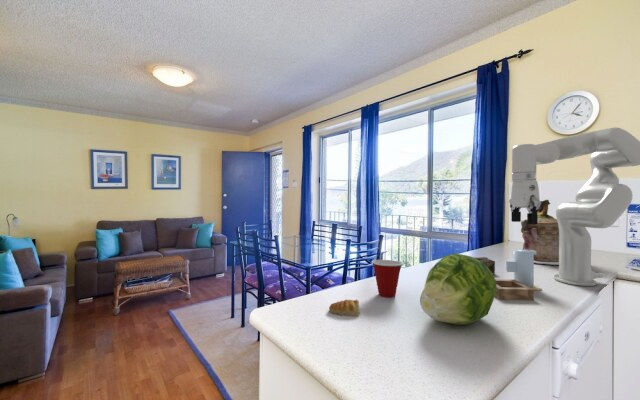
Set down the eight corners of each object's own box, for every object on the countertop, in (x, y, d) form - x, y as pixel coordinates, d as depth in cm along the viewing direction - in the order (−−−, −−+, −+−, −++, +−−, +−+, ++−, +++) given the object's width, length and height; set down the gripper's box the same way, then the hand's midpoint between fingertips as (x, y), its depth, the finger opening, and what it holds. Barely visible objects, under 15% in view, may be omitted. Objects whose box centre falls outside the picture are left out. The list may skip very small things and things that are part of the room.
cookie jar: (568, 258, 153) (568, 198, 153) (579, 268, 132) (579, 199, 132) (512, 253, 166) (512, 198, 166) (514, 262, 146) (515, 199, 145)
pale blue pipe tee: (540, 287, 105) (540, 252, 105) (512, 287, 106) (511, 252, 105) (530, 282, 111) (529, 249, 110) (503, 282, 112) (502, 249, 111)
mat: (528, 283, 112) (528, 281, 112) (542, 290, 104) (542, 288, 104) (506, 283, 112) (506, 281, 112) (518, 289, 104) (518, 288, 104)
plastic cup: (405, 291, 104) (405, 259, 104) (400, 302, 94) (400, 266, 94) (375, 287, 109) (375, 256, 108) (368, 297, 99) (368, 262, 98)
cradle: (514, 288, 106) (514, 279, 105) (533, 300, 95) (533, 289, 95) (483, 288, 107) (483, 279, 106) (498, 299, 96) (498, 288, 96)
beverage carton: (496, 274, 125) (496, 259, 125) (452, 275, 125) (452, 260, 125) (485, 269, 133) (485, 255, 133) (444, 270, 133) (444, 256, 132)
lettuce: (399, 314, 85) (400, 260, 80) (449, 288, 96) (452, 238, 91) (456, 356, 70) (461, 291, 65) (508, 319, 81) (516, 261, 76)
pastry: (328, 316, 84) (328, 304, 84) (329, 308, 91) (329, 296, 91) (360, 317, 83) (360, 304, 83) (359, 308, 90) (359, 296, 90)
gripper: (551, 176, 98) (550, 225, 99) (520, 178, 116) (520, 220, 116) (528, 176, 99) (528, 225, 99) (500, 178, 116) (500, 220, 117)
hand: (523, 222), depth 108 cm, fingers open, 9 cm apart
